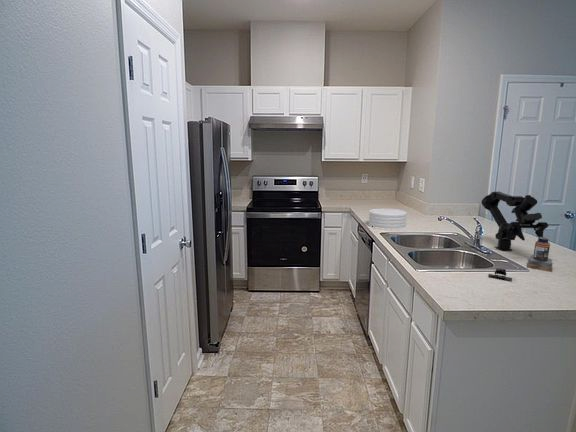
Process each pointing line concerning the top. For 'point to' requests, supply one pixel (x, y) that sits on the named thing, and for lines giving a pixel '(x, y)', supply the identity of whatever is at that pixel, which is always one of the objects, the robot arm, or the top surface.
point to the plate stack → (387, 218)
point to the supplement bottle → (541, 249)
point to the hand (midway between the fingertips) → (533, 240)
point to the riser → (540, 264)
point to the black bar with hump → (500, 271)
